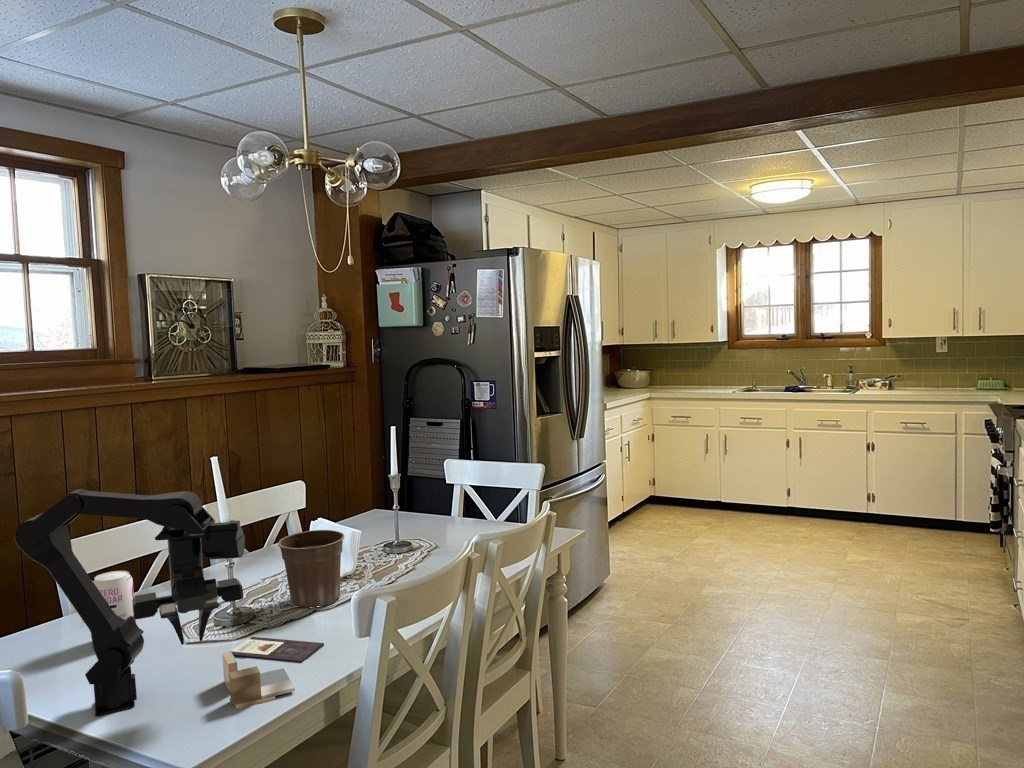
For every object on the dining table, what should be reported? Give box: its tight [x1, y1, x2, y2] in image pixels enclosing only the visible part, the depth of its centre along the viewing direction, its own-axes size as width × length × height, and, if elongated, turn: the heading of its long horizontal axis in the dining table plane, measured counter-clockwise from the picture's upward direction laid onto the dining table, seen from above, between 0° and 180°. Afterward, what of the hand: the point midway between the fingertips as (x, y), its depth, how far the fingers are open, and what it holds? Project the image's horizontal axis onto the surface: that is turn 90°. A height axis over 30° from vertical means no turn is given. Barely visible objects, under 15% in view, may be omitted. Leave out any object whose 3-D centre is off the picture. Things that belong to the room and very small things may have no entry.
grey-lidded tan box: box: [229, 665, 296, 706], centre depth 145 cm, size 11×4×5 cm, turn 118°
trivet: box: [260, 667, 291, 687], centre depth 151 cm, size 9×7×1 cm
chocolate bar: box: [230, 636, 325, 664], centre depth 166 cm, size 9×1×18 cm
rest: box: [234, 696, 276, 710], centre depth 145 cm, size 7×5×1 cm
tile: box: [221, 650, 239, 693], centre depth 150 cm, size 2×6×6 cm, turn 31°
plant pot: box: [277, 529, 345, 608], centre depth 196 cm, size 16×16×16 cm
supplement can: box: [93, 570, 137, 623], centre depth 175 cm, size 8×8×15 cm
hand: (191, 642), depth 145 cm, fingers open, 3 cm apart
